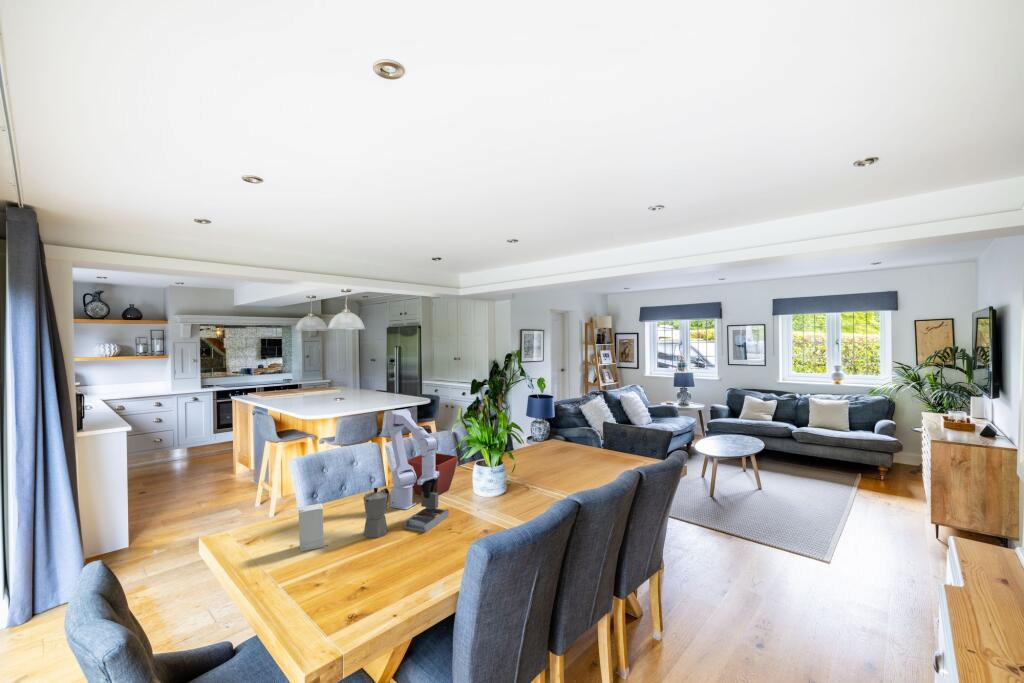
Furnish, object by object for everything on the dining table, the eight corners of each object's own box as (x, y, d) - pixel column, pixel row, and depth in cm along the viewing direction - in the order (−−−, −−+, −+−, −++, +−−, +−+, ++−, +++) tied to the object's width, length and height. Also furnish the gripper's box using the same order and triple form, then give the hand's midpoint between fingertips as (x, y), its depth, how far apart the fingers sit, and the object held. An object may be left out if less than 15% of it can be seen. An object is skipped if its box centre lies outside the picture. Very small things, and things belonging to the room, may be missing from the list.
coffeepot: (376, 541, 175) (376, 494, 174) (355, 538, 177) (355, 491, 177) (398, 526, 189) (398, 482, 189) (378, 523, 192) (378, 480, 192)
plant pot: (436, 500, 219) (437, 465, 219) (404, 494, 227) (404, 460, 227) (458, 488, 236) (458, 456, 236) (427, 483, 245) (427, 451, 244)
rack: (404, 528, 187) (404, 519, 187) (428, 513, 203) (428, 504, 203) (425, 532, 183) (425, 523, 183) (448, 516, 200) (448, 507, 200)
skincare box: (322, 541, 175) (322, 502, 175) (323, 548, 169) (324, 507, 169) (298, 545, 171) (298, 505, 171) (298, 552, 166) (298, 511, 165)
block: (421, 506, 199) (421, 492, 199) (424, 504, 201) (424, 490, 201) (435, 508, 197) (435, 494, 197) (438, 506, 199) (438, 493, 199)
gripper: (427, 470, 191) (427, 503, 191) (445, 462, 204) (445, 492, 204) (413, 468, 194) (413, 501, 194) (431, 460, 207) (431, 490, 207)
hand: (428, 496), depth 199 cm, fingers closed on block, 2 cm apart
